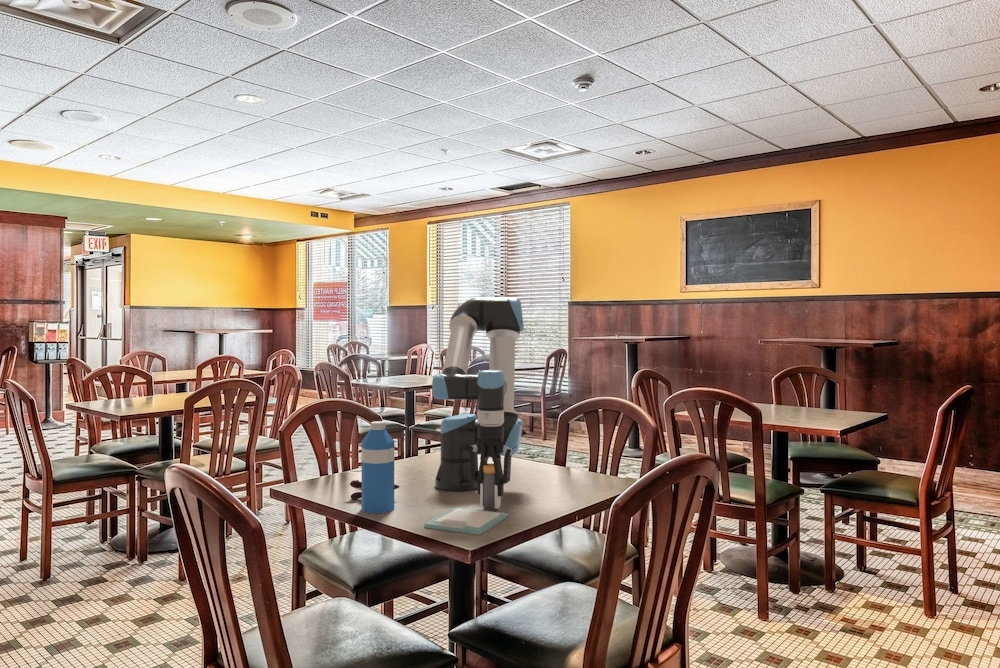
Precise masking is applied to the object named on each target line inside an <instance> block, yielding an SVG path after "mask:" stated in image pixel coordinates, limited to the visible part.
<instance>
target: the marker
mask: <svg viewBox="0 0 1000 668" xmlns="http://www.w3.org/2000/svg"><path fill="white" fill-rule="evenodd" d="M483 472H484V479H483V509H482V510H485V511H493V512H498V508H495V485H496V484H497V480H496V474H495V468H494V463H487V464H485V465H483Z"/></svg>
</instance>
